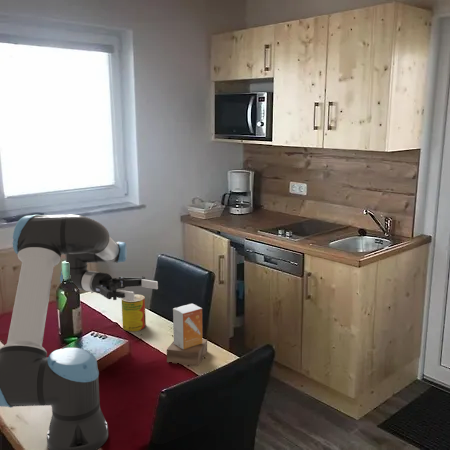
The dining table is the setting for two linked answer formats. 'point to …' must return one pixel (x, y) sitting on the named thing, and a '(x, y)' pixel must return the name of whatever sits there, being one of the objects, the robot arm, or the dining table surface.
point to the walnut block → (187, 354)
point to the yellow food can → (134, 313)
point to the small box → (187, 326)
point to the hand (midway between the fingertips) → (145, 290)
